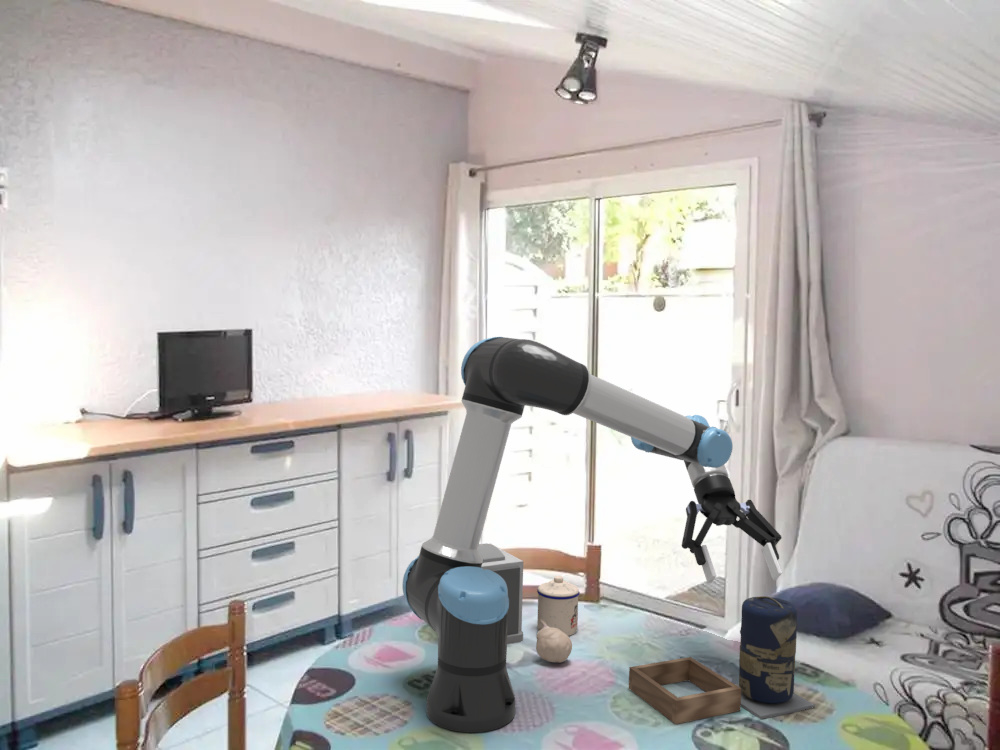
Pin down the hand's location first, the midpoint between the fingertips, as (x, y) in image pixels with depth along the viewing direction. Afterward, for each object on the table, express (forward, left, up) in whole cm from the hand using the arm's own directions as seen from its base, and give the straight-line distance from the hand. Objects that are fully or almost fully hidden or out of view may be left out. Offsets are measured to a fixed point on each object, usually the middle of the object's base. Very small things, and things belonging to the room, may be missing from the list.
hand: (745, 578), depth 159 cm
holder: (-16, -4, -19) cm, 25 cm away
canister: (-2, -9, -19) cm, 21 cm away
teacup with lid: (-21, +35, -19) cm, 45 cm away
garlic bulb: (-30, +19, -19) cm, 41 cm away
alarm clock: (-38, +39, -19) cm, 58 cm away
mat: (-2, -9, -19) cm, 21 cm away
